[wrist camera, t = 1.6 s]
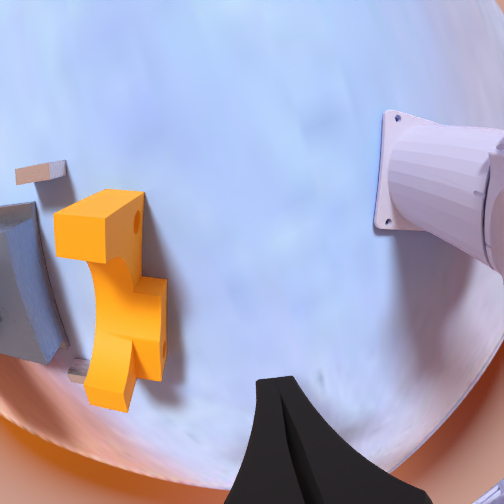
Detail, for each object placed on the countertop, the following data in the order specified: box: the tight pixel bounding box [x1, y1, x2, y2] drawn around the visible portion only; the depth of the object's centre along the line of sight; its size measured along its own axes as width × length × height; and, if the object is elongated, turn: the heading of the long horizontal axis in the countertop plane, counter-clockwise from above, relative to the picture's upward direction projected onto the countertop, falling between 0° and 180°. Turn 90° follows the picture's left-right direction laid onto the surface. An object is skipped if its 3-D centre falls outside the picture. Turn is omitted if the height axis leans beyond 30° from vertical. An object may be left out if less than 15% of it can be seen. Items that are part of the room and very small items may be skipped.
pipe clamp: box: [54, 189, 167, 413], centre depth 15 cm, size 12×4×6 cm, turn 171°
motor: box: [0, 160, 91, 384], centre depth 15 cm, size 10×17×4 cm, turn 179°
